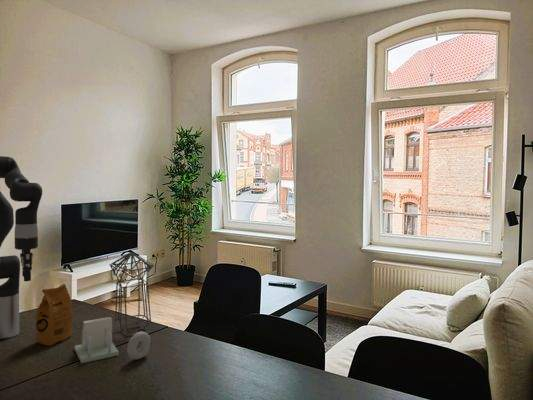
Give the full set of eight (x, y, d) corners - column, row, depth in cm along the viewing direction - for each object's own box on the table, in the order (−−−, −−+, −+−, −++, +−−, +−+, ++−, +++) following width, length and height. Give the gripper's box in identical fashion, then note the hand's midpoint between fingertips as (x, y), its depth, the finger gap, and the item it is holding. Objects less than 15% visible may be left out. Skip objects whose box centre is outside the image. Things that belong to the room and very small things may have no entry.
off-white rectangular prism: (83, 347, 155) (83, 321, 154) (110, 341, 160) (110, 316, 160) (84, 349, 153) (84, 323, 152) (112, 343, 158) (112, 318, 158)
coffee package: (31, 343, 161) (31, 288, 161) (58, 332, 173) (58, 282, 172) (49, 347, 158) (49, 291, 157) (75, 336, 169) (75, 284, 168)
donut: (131, 365, 144) (131, 337, 143) (124, 362, 145) (125, 335, 145) (152, 354, 152) (152, 328, 152) (145, 352, 154) (145, 327, 154)
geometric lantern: (156, 334, 174) (155, 253, 171) (118, 342, 165) (117, 257, 162) (145, 322, 187) (143, 248, 184) (109, 330, 178) (107, 251, 175)
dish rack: (74, 349, 156) (74, 327, 156) (109, 342, 163) (109, 322, 163) (81, 363, 144) (81, 339, 144) (118, 355, 152) (118, 332, 151)
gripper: (13, 234, 155) (14, 276, 156) (15, 238, 143) (15, 284, 144) (36, 233, 159) (36, 273, 160) (39, 237, 148) (39, 281, 148)
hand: (26, 278), depth 152 cm, fingers open, 8 cm apart
